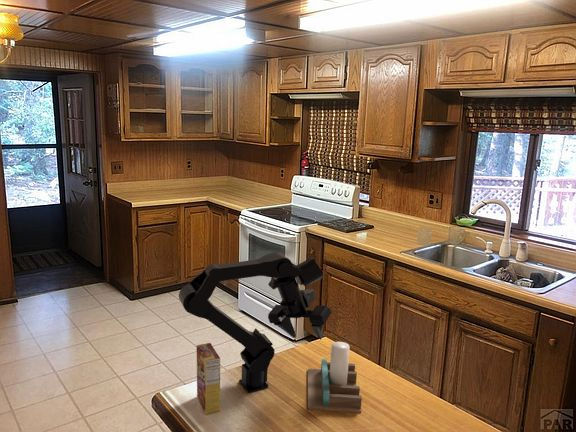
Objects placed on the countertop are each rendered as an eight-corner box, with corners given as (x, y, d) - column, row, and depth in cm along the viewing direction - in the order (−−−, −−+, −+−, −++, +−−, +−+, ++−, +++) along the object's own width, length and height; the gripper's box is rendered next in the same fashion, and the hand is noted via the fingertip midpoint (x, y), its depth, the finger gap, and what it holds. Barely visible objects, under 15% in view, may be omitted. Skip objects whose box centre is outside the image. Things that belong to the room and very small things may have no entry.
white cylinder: (335, 395, 129) (338, 351, 127) (325, 386, 133) (328, 343, 131) (350, 390, 132) (353, 347, 129) (339, 382, 136) (342, 340, 133)
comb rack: (361, 412, 123) (362, 396, 122) (307, 409, 123) (308, 393, 122) (353, 373, 142) (354, 359, 141) (307, 370, 143) (308, 356, 142)
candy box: (195, 396, 126) (195, 344, 123) (210, 393, 128) (211, 341, 125) (203, 415, 118) (204, 360, 115) (220, 412, 120) (221, 357, 117)
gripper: (330, 277, 133) (346, 321, 139) (277, 278, 144) (293, 319, 149) (314, 300, 125) (331, 346, 130) (259, 300, 135) (277, 342, 141)
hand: (307, 337), depth 138 cm, fingers open, 9 cm apart
